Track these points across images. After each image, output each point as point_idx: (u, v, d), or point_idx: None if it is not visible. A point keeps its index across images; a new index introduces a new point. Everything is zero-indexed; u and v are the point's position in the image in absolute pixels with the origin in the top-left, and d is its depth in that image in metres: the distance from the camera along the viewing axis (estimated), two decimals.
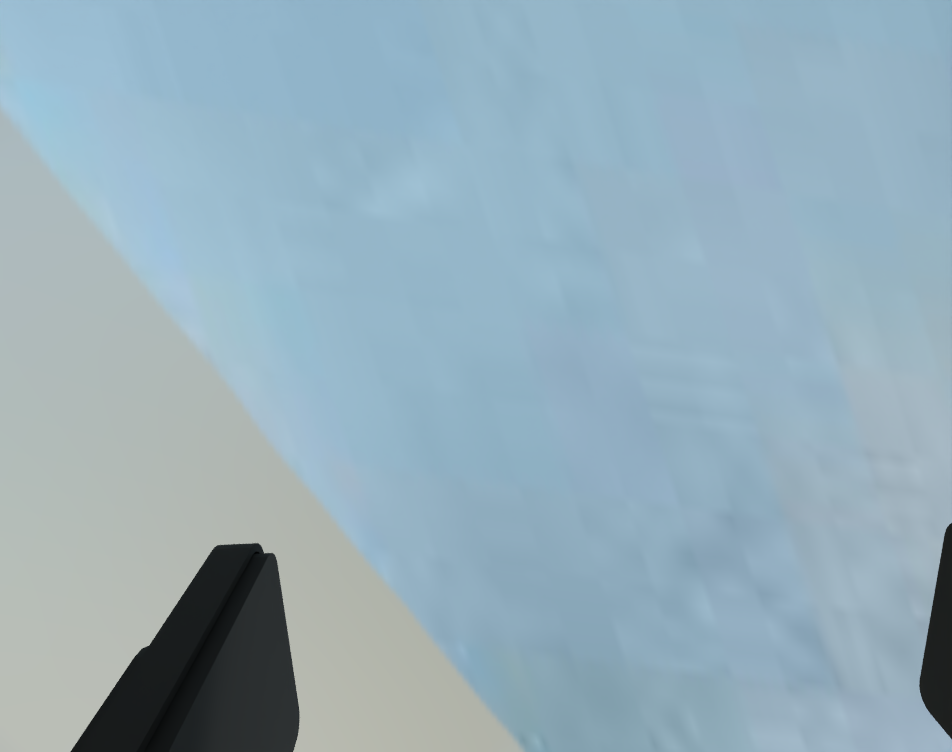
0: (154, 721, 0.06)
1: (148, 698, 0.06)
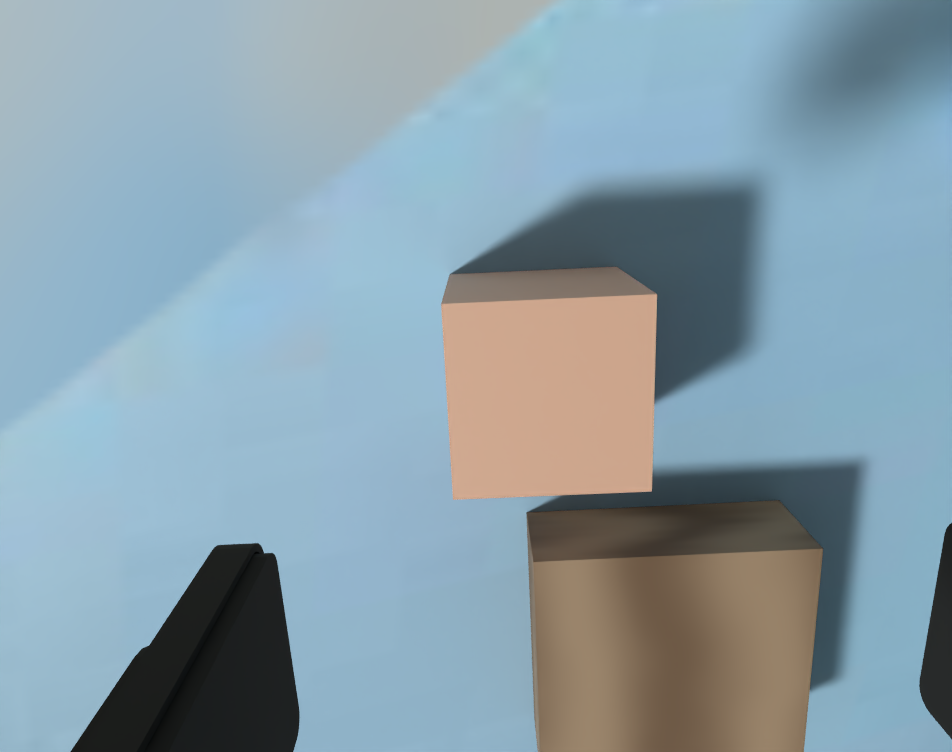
0: (154, 721, 0.06)
1: (148, 698, 0.06)
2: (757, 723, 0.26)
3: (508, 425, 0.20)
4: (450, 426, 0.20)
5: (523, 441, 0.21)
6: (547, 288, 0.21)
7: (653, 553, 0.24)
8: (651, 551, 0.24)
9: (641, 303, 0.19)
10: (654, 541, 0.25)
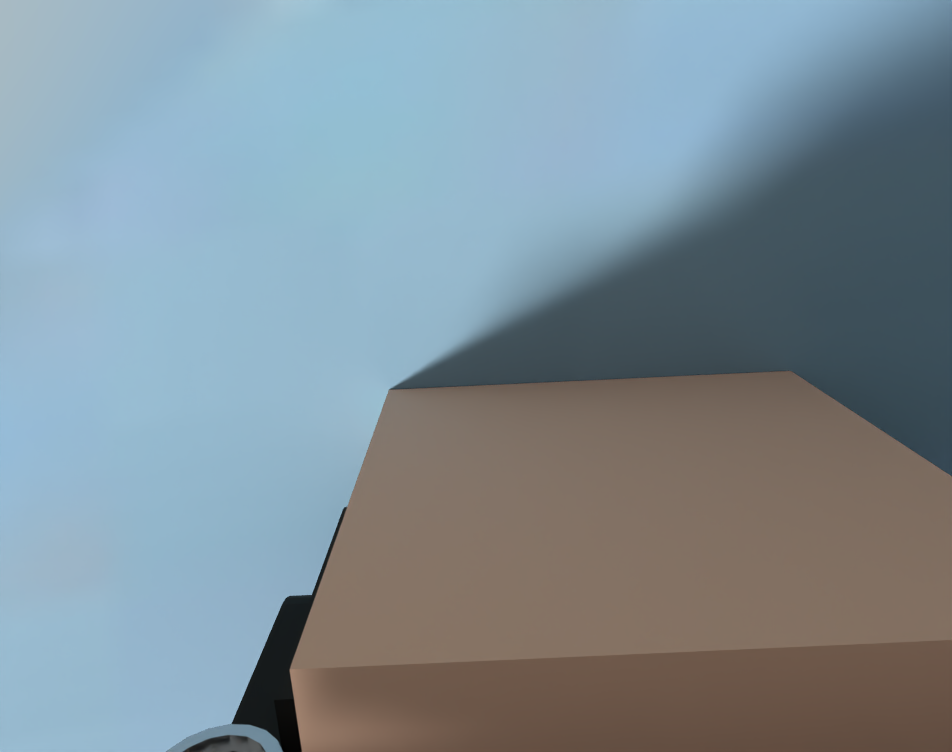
0: None
1: None
2: None
3: None
4: None
5: None
6: (678, 516, 0.06)
7: None
8: None
9: None
10: None
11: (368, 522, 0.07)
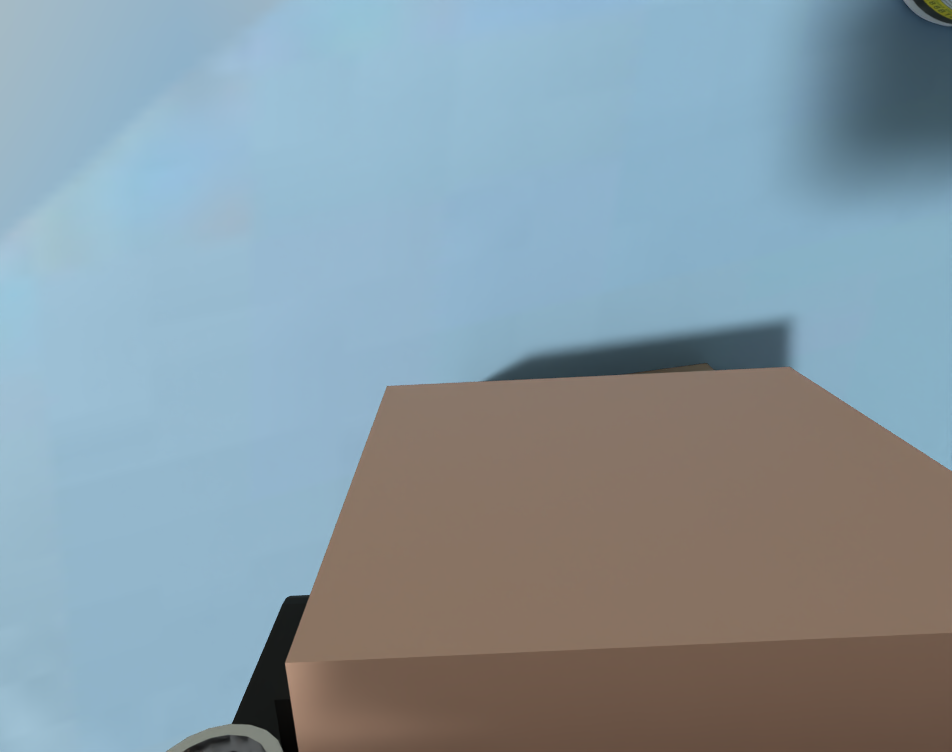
0: None
1: None
2: None
3: None
4: None
5: None
6: (676, 511, 0.06)
7: None
8: None
9: None
10: None
11: (365, 517, 0.07)
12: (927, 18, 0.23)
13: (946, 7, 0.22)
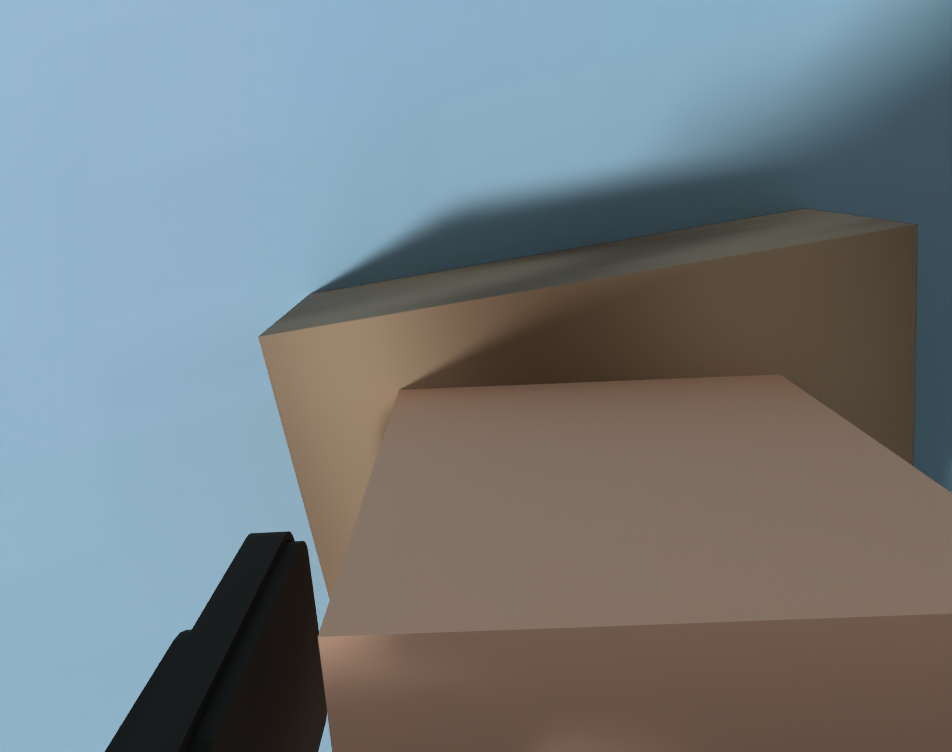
0: (205, 696, 0.06)
1: (197, 675, 0.07)
2: None
3: None
4: None
5: None
6: (669, 507, 0.07)
7: (528, 288, 0.11)
8: (524, 287, 0.11)
9: None
10: (537, 277, 0.11)
11: (384, 510, 0.07)
12: None
13: None
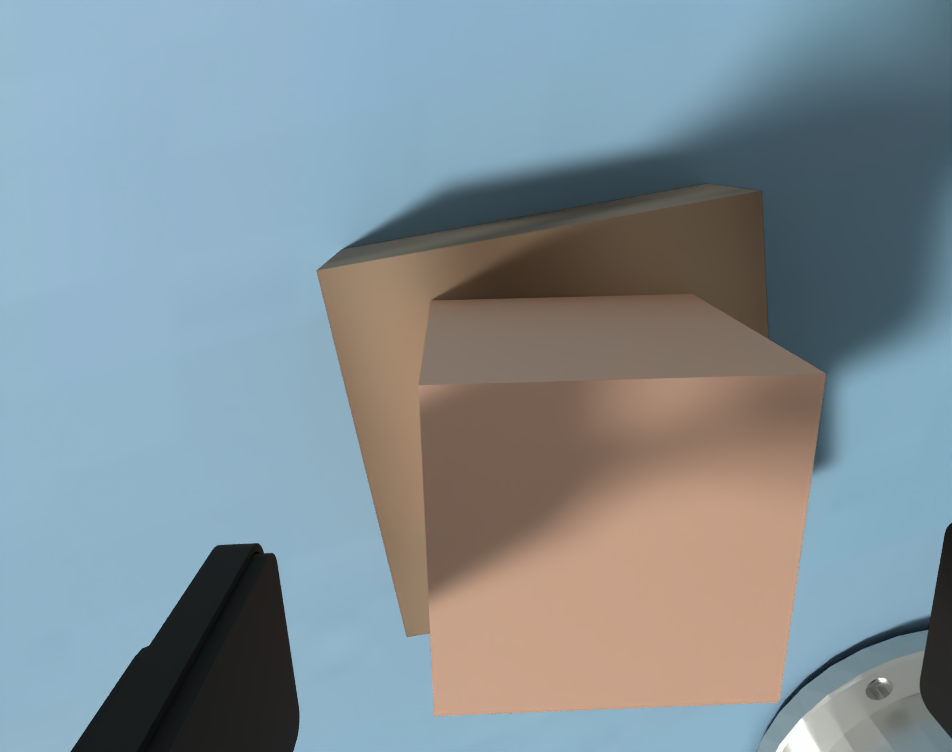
0: (154, 720, 0.06)
1: (148, 698, 0.06)
2: None
3: (536, 598, 0.11)
4: (431, 599, 0.11)
5: (561, 623, 0.11)
6: (606, 346, 0.12)
7: (501, 236, 0.16)
8: (498, 236, 0.16)
9: (796, 390, 0.10)
10: (508, 230, 0.16)
11: (438, 348, 0.12)
12: None
13: None
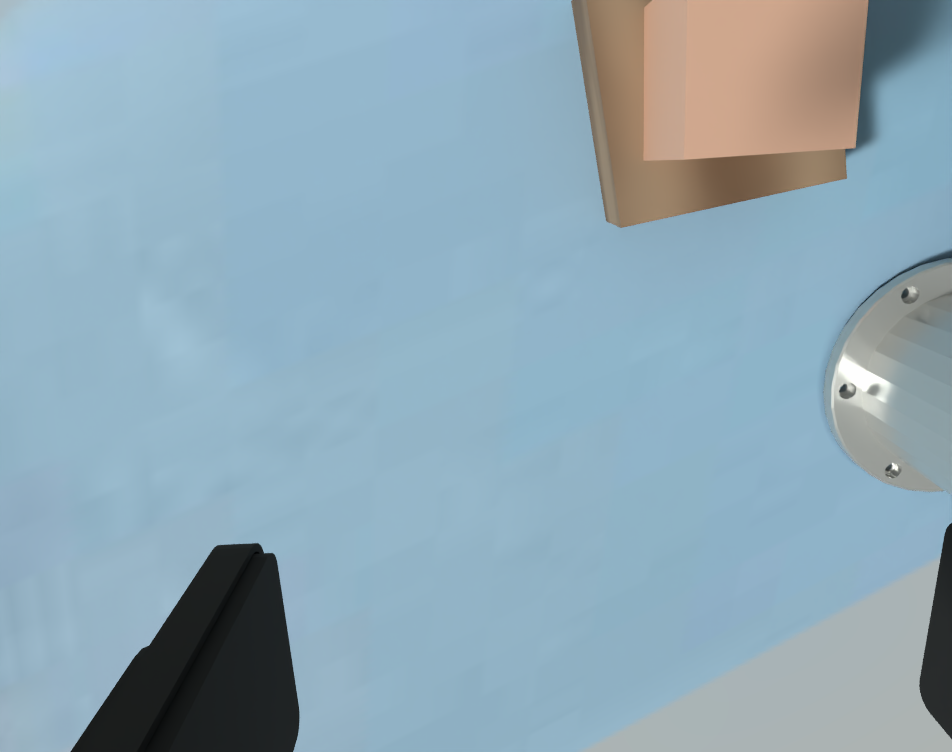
0: (154, 721, 0.06)
1: (148, 698, 0.06)
2: None
3: (736, 85, 0.24)
4: (687, 86, 0.24)
5: (748, 100, 0.24)
6: None
7: None
8: None
9: None
10: None
11: None
12: None
13: None
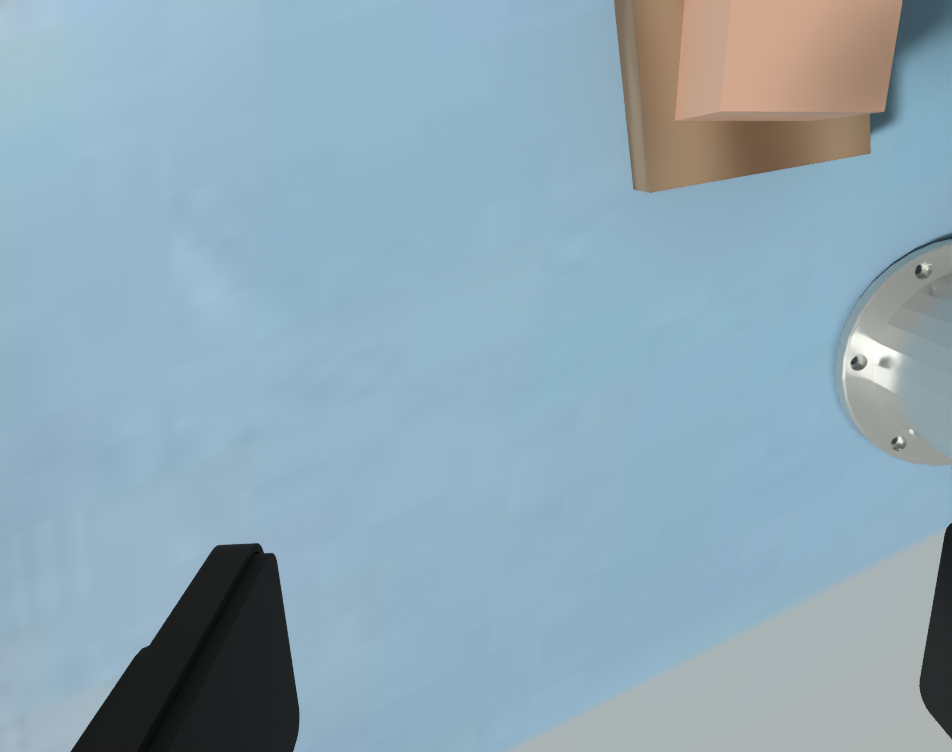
0: (154, 720, 0.06)
1: (148, 698, 0.06)
2: None
3: (776, 42, 0.25)
4: (729, 39, 0.25)
5: (786, 57, 0.25)
6: None
7: None
8: None
9: None
10: None
11: None
12: None
13: None
